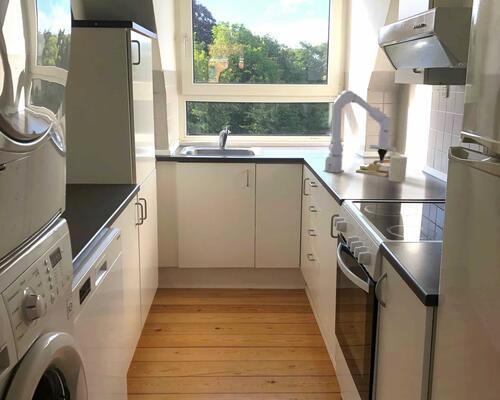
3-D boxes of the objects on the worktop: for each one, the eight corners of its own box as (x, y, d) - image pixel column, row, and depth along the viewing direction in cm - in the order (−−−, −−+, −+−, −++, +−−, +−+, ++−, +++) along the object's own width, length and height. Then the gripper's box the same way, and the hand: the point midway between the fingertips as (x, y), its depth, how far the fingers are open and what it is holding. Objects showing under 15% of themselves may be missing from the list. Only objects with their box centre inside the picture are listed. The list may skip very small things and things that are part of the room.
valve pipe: (386, 174, 299) (387, 166, 299) (359, 170, 309) (359, 162, 308) (389, 173, 303) (390, 165, 302) (362, 169, 312) (362, 162, 311)
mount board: (384, 176, 297) (385, 174, 297) (355, 172, 307) (355, 170, 307) (392, 174, 305) (392, 171, 305) (363, 170, 315) (364, 168, 314)
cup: (393, 182, 281) (395, 158, 278) (385, 179, 289) (387, 156, 286) (408, 181, 283) (410, 158, 281) (399, 178, 291) (401, 155, 288)
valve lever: (374, 164, 303) (374, 160, 303) (371, 163, 305) (372, 159, 305) (392, 163, 308) (392, 159, 308) (390, 162, 310) (390, 159, 310)
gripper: (399, 139, 305) (396, 163, 308) (374, 136, 313) (372, 160, 316) (394, 140, 299) (391, 165, 302) (369, 137, 307) (367, 161, 310)
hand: (381, 163), depth 309 cm, fingers closed, pressing on valve lever
